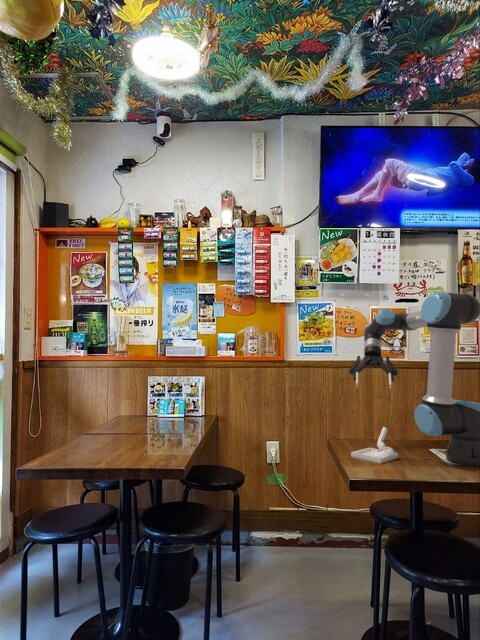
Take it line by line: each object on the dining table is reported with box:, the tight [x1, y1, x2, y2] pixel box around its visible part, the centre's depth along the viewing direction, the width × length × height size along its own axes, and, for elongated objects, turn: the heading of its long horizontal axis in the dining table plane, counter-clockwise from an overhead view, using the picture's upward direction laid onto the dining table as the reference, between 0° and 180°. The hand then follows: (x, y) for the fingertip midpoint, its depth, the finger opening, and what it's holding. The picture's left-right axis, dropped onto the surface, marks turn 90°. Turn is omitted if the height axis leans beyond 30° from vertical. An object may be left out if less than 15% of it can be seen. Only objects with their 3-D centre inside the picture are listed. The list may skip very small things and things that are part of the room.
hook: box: [375, 426, 395, 457], centre depth 174 cm, size 8×12×7 cm
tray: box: [350, 447, 399, 465], centre depth 175 cm, size 13×13×2 cm
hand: (373, 386), depth 187 cm, fingers open, 13 cm apart
